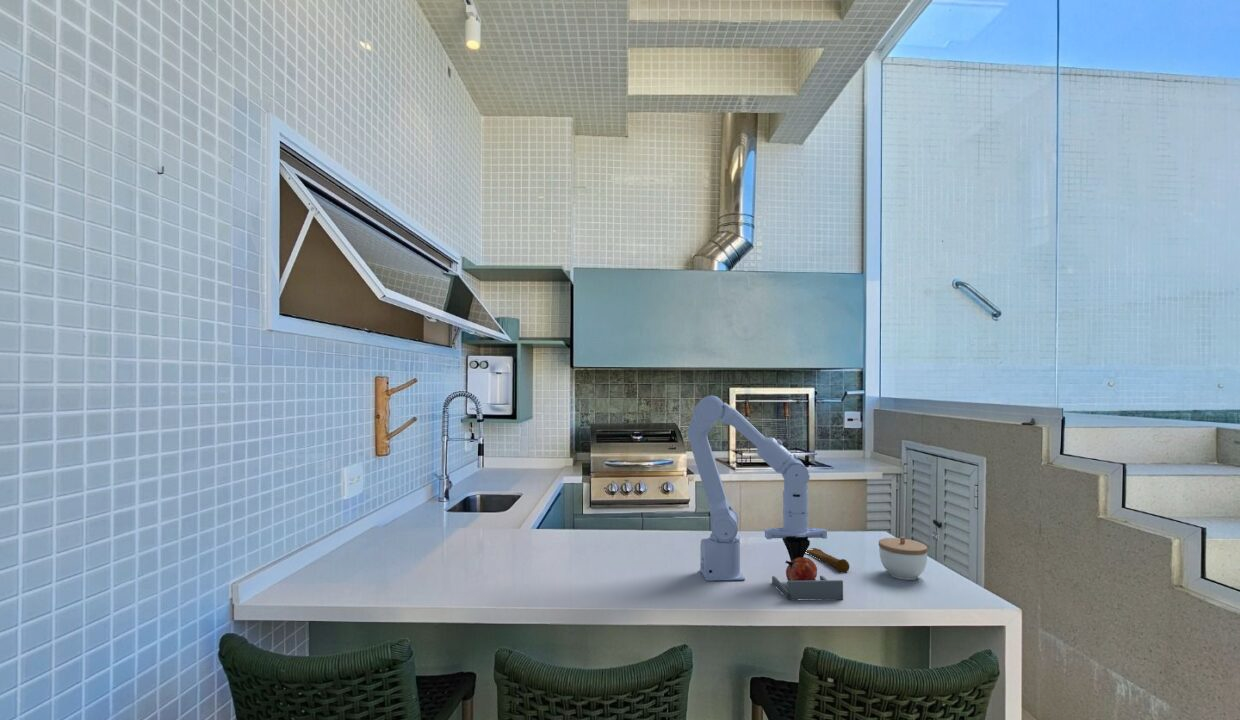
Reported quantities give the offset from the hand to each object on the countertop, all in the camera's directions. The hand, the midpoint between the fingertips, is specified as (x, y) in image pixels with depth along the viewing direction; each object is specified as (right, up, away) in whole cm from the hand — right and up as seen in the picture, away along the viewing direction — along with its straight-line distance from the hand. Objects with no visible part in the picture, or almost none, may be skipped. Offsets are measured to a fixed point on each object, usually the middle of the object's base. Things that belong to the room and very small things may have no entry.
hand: (796, 568), depth 131 cm
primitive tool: (+12, -4, +16) cm, 20 cm away
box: (0, -3, -6) cm, 7 cm away
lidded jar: (+28, -4, +4) cm, 28 cm away
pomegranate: (0, -3, -5) cm, 6 cm away
